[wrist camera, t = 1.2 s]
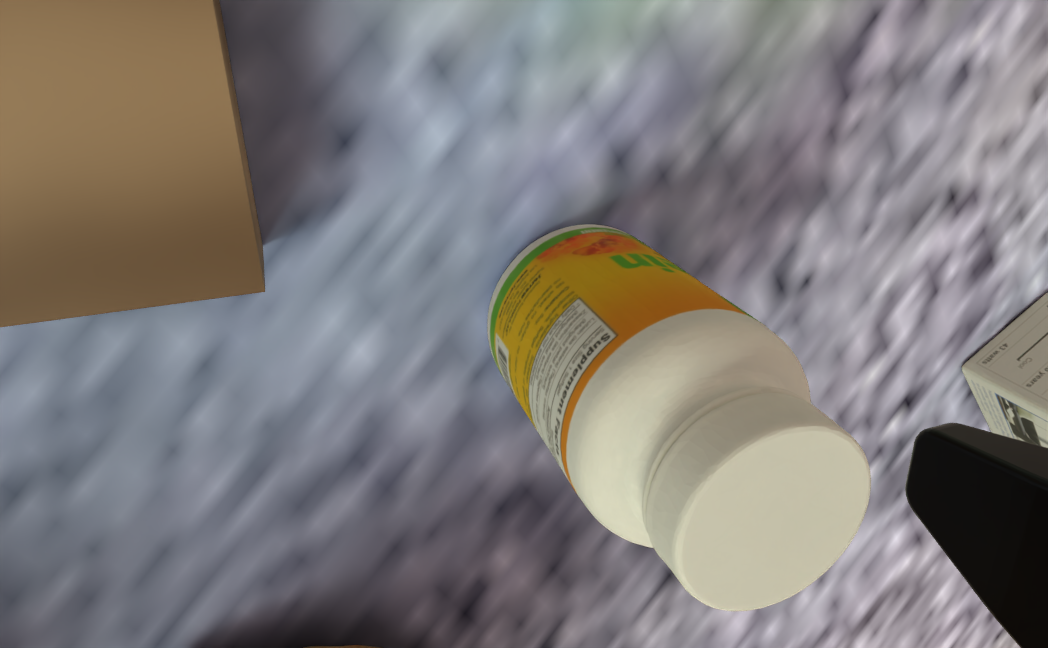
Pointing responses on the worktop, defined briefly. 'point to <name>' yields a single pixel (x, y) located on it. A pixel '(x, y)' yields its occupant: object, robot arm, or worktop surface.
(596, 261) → the supplement bottle
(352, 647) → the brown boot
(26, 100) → the walnut base
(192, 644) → the worktop surface
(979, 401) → the light bulb box
